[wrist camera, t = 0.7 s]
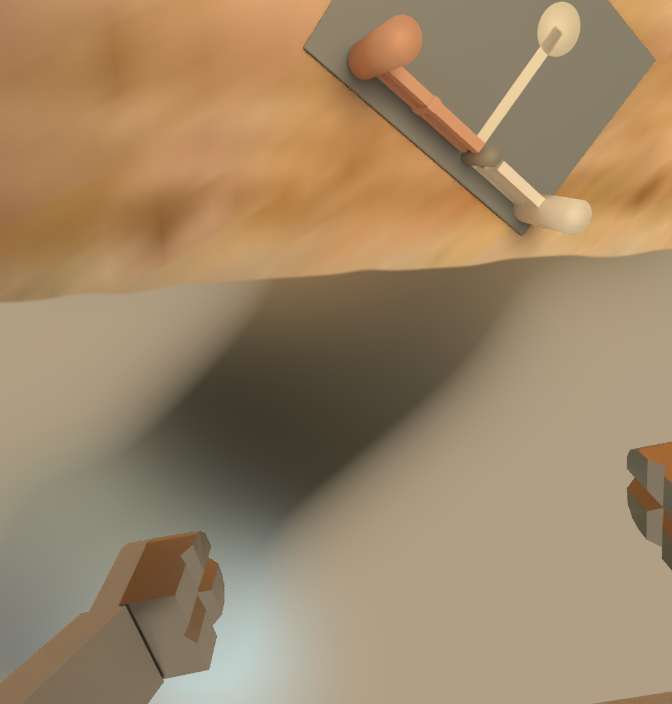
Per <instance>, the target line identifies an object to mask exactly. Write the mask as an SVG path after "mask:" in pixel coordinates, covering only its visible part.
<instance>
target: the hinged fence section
mask: <svg viewBox="0 0 672 704" xmlns="http://www.w3.org/2000/svg"><path fill="white" fill-rule="evenodd" d="M421 47H422V32H421V29H420V27H419V25H418V23H417V22H416V21H415V20H414V19H413V18H412V17H410V16H408V15H396V16H394V17H392V18H391V19H389V20H388V21H386V22H385V23H384V24H382V25H381V26H379V27H378V28H376V29H375V30H374V31H372V32H371V33H369V34H368V35H366V36H365V37H364V38H362V39H361V40H359V41H358V42H356V43H355V44H354V45H353V46H352V48H351V49H350V52H349V55H348V64H349V68H350V70H351V72H352V73H353V75H354V76H356V77H357V78H359V79H362V80H369V79H372V78H374V77H377V78H378V79H379V80H381V81H382V82H383V83H384V84H385V85H386V86H387V87H388V88H390V89H391V90H392V91H393V92H394V93H395V94H396V95H397V96H398V97H400V98H401V99H402V100H403V101H404V102H405V103H406V104H407V105H409V106H410V107H411V108H412V111H413V112H414V113H415V114H417V115H420V116H421V117H422V118H423V119H424V120H425V121H426V122H428V123H429V124H430V125H431V126H432V127H433V128H434V129H435V130H437V131H438V132H439V133H440V134H441V135H442V136H443V137H444V138H445V139H447V140H448V141H449V142H450V143H451V144H452V145H453V146H454V147H456V148H457V149H458V150H459V151H460V152H467V151H468V149H469V150H470V151H471V152H473V153H479V152H480V150H481V149H482V148H483V146H484V145H485V143H484V142H483V141H482V140H481V139H480V138H479V137H478V136H477V135H476V134H475V133H473V132H472V131H471V130H470V129H469V128H468V127H467V126H466V125H465V124H464V123H463V122H462V121H460V120H459V119H458V118H457V117H456V116H455V115H454V114H453V113H452V112H451V111H450V110H449V109H448V108H446V107H445V106H444V105H443V104H442V103H441V102H442V101H441V100H440V99H439V98H438V97H437V96H436V95H432V94H431V93H430V92H429V91H428V90H427V89H426V88H425V87H424V86H423V85H422V84H421V83H420V82H418V81H417V80H416V79H415V78H414V77H413V76H412V75H411V74H410V73H409V72H408V71H407V70H405V69H404V68H403V67H402V66H404V65H406V64H409V63H411V62H412V61H413V60H414V59H415V58H416V57H417V56H418V54H419V52H420V50H421Z"/></svg>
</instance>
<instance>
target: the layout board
mask: <svg viewBox="0 0 672 704" xmlns="http://www.w3.org/2000/svg"><path fill="white" fill-rule="evenodd" d="M396 15H408V16H410V17H412V18H413V19H414V20H415V21H416V22H417V23H418V25H419V27H420V29H421V32H422V47H421V50H420V52H419V54H418V56H417V57H416V58H415V59H414V60H413V61H412V62H411V63H409V64H406V65H404V66H402V67H403V68H404V69H405V70H407V71H408V72H409V73H410V74H411V75H412V76H413V77H414V78H415V79H416V80H417V81H418V82H420V83H421V84H422V85H423V86H424V87H425V88H426V89H427V90H428V91H429V92H430V93H431V94H432V95H436V96H437V97H438V98H439V99H440V100H441V101H442V102H441V103H442V104H443V105H444V106H445V107H446V108H448V109H449V110H450V111H451V112H452V113H453V114H454V115H455V116H456V117H457V118H458V119H459V120H460V121H462V122H463V123H464V124H465V125H466V126H467V127H468V128H469V129H470V130H471V131H472V132H473V133H475V134H476V135H477V136H478V137H479V138H480V139H481V140H482V141H483V142H484V143H485V145H484V146H485V147H497V148H498V149H499V150H500V151H501V160H500V161H505V162H506V163H507V164H508V165H509V166H510V167H511V168H512V169H513V170H514V171H515V172H517V173H518V174H519V175H520V176H521V177H522V178H523V179H524V180H525V181H526V182H527V183H528V184H530V185H531V186H532V187H533V188H534V189H535V190H536V191H537V192H538V193H541V194H547V195H554V194H555V192H556V191H557V190H558V188H559V187H560V186H561V184H562V183H563V182H564V180H565V179H566V178H567V176H568V175H569V174H570V173H571V171H572V170H573V169H574V167H575V166H576V165H577V163H578V162H579V161H580V159H581V158H582V157H583V155H584V154H585V153H586V151H587V150H588V149H589V148H590V146H591V145H592V144H593V142H594V141H595V140H596V138H597V137H598V136H599V134H600V133H601V132H602V130H603V129H604V128H605V126H606V125H607V124H608V122H609V121H610V120H611V119H612V117H613V116H614V115H615V113H616V112H617V111H618V109H619V108H620V107H621V105H622V104H623V103H624V101H625V100H626V99H627V97H628V96H629V95H630V94H631V92H632V91H633V90H634V88H635V87H636V86H637V84H638V83H639V82H640V80H641V79H642V78H643V76H644V75H645V74H646V72H647V71H648V70H649V69H650V67H651V66H652V65H653V63H654V62H655V61H656V60H655V59H654V57H653V56H652V55H651V54H650V52H649V51H648V50H647V49H646V47H645V46H644V45H643V44H642V42H641V41H640V40H639V39H638V37H637V36H636V35H635V34H634V32H633V31H632V30H631V29H630V27H629V26H628V25H627V24H626V22H625V21H624V20H623V18H622V17H621V16H620V15H619V13H618V12H617V11H616V10H615V8H614V7H613V6H612V5H611V3H610V2H609V1H608V0H332V2H331V4H330V5H329V7H328V9H327V10H326V12H325V13H324V15H323V17H322V18H321V20H320V22H319V23H318V25H317V27H316V28H315V30H314V31H313V33H312V35H311V36H310V38H309V40H308V41H307V43H306V45H305V46H304V49H305V50H306V51H307V52H308V53H309V54H311V55H312V56H313V57H314V58H315V59H316V60H318V61H319V62H320V63H321V64H322V65H323V66H324V67H326V68H327V69H328V70H329V71H330V72H331V73H333V74H334V75H335V76H336V77H337V78H338V79H340V80H341V81H342V82H343V83H344V84H345V85H347V86H348V87H349V88H350V89H351V90H352V91H354V92H355V93H356V94H357V95H358V96H359V97H361V98H362V99H363V100H364V101H365V102H366V103H368V104H369V105H370V106H371V107H372V108H373V109H375V110H376V111H377V112H378V113H379V114H380V115H382V116H383V117H384V118H385V119H386V120H387V121H388V122H390V123H391V124H392V125H393V126H394V127H395V128H397V129H398V130H399V131H400V132H401V133H402V134H404V135H405V136H406V137H407V138H408V139H409V140H411V141H412V142H413V143H414V144H415V145H416V146H418V147H419V148H420V149H421V150H422V151H423V152H425V153H426V154H427V155H428V156H429V157H430V158H432V159H433V160H434V161H435V162H436V163H437V164H439V165H440V166H441V167H442V168H443V169H444V170H445V171H447V172H448V173H449V174H450V175H451V176H452V177H454V178H455V179H456V180H457V181H458V182H459V183H461V184H462V185H463V186H464V187H465V188H466V189H468V190H469V191H470V192H471V193H472V194H473V195H475V196H476V197H477V198H478V199H479V200H480V201H482V202H483V203H484V204H485V205H486V206H487V207H489V208H490V209H491V210H492V211H493V212H494V213H496V214H497V215H498V216H499V217H500V218H501V219H503V220H504V221H505V222H506V223H507V224H508V225H509V226H511V227H512V228H513V229H514V230H515V231H516V232H518V233H519V234H520V235H522V236H523V234H524V233H525V232H526V230H527V229H528V228H529V226H530V225H531V224H528V223H524V222H521V221H518V220H517V219H516V218H515V216H514V213H513V206H514V203H515V200H514V199H513V198H512V197H510V196H509V195H508V194H507V193H506V192H505V191H504V190H503V189H501V188H500V187H499V186H498V185H497V184H496V183H495V182H494V181H492V180H491V179H490V178H489V177H488V176H487V175H486V174H485V173H484V172H482V171H481V170H480V169H479V167H480V166H472V165H466V164H464V163H463V162H462V159H461V154H462V152H460V151H459V150H458V149H457V148H456V147H454V146H453V145H452V144H451V143H450V142H449V141H448V140H447V139H445V138H444V137H443V136H442V135H441V134H440V133H439V132H438V131H437V130H435V129H434V128H433V127H432V126H431V125H430V124H429V123H428V122H426V121H425V120H424V119H423V118H422V117H421V116H420V115H417V114H415V113H414V112H413V111H412V108H411V107H410V106H409V105H407V104H406V103H405V102H404V101H403V100H402V99H401V98H400V97H398V96H397V95H396V94H395V93H394V92H393V91H392V90H391V89H390V88H388V87H387V86H386V85H385V84H384V83H383V82H382V81H381V80H379V79H378V78H377V77H374V78H372V79H369V80H362V79H359V78H357V77H356V76H354V75H353V73H352V72H351V70H350V68H349V64H348V55H349V52H350V49H351V48H352V46H353V45H354V44H355V43H356V42H358V41H359V40H361V39H362V38H364V37H365V36H366V35H368V34H369V33H371V32H372V31H374V30H375V29H376V28H378V27H379V26H381V25H382V24H384V23H385V22H386V21H388V20H389V19H391V18H392V17H394V16H396Z"/></svg>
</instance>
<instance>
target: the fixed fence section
mask: <svg viewBox="0 0 672 704" xmlns="http://www.w3.org/2000/svg"><path fill="white" fill-rule="evenodd" d="M461 159H462V162H463V163H464V164H466V165H472V166H480V167H479V169H480V170H481V171H482V172H484V173H485V174H486V175H487V176H488V177H489V178H490V179H491V180H492V181H494V182H495V183H496V184H497V185H498V186H499V187H500V188H501V189H503V190H504V191H505V192H506V193H507V194H508V195H509V196H510V197H512V198H513V199H514V200H515V203H514V206H513V213H514V216H515V218H516V219H517V220H518V221H521V222H524V223H528V224H532V225H536V226H540V227H544V228H548V229H552V230H555V231H559V232H563V233H567V234H571V235H575V234H578V233H580V232H582V231H583V230H584V229H585V228H586V227H587V226H588V224H589V223H590V220H591V216H592V211H591V207H590V205H589V204H588V203H587V202H586V201H584V200H579V199H573V198H567V197H560V196H554V195H547V194H541V193H538V192H537V191H536V190H535V189H534V188H533V187H532V186H531V185H530V184H528V183H527V182H526V181H525V180H524V179H523V178H522V177H521V176H520V175H519V174H518V173H517V172H515V171H514V170H513V169H512V168H511V167H510V166H509V165H508V164H507V163H506V162H505V161H500V160H501V151H500V150H499V149H498V148H497V147H485V146H483V148H482V149H481V150H480V152H479V153H473V152H471V151H470V150H469V149H468V151H467V152H462V154H461Z"/></svg>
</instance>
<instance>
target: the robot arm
mask: <svg viewBox="0 0 672 704" xmlns="http://www.w3.org/2000/svg"><path fill="white" fill-rule="evenodd" d="M627 469H628V470H629V471H630V473H631V474H632V475H633V476H634V477H635V478H634V480H633V481H632V482H631V483H630V485H629V486H628V488H627V499H628V506H629V509H630V512H631V515H632V518H633V520H634V522H635V524H636V525H637V527H638V529H639V530H640V532H641V533H642V534H643V536H644V537H645V538H646V539H647V540H649V541H651V542H653V543H655V544H657V545H659V546H662V559H663V560H664V562H665V563H666V564H667V565H668V566H669V568H670V569H671V570H672V442H667V443H662V444H657V445H652V446H647V447H642V448H636V449H632V450H630V451H629V453H628V456H627ZM210 549H211V545H210V543H209V540H208V538H207V536H206V534H205V533H204V532H202V531H196V532H190V533H184V534H178V535H172V536H166V537H159V538H154V539H152V540H144V541H138V542H132V543H128V544H127V545H125V546H124V547H123V548H122V549H121V551H120V553H119V555H118V557H117V559H116V560H115V562H114V565H113V566H112V568H111V570H110V572H109V574H108V576H107V578H106V580H105V582H104V584H103V586H102V588H101V590H100V592H99V593H98V595H97V597H96V599H95V601H94V603H93V605H92V607H91V609H90V611H89V612H87V613H81V614H80V615H79V616H78V617H76V618H75V619H74V620H73V621H72V622H71V623H70V624H68V625H67V626H66V627H65V628H64V629H63V630H61V631H60V632H59V633H58V634H57V635H56V636H55V637H54V638H52V639H51V640H50V641H49V642H47V643H46V644H45V645H44V646H43V647H42V648H41V649H39V650H38V651H37V652H36V653H35V654H34V655H32V656H31V657H30V658H29V659H28V660H27V661H25V662H24V663H23V664H22V665H21V666H20V667H18V668H17V669H16V670H15V671H14V672H13V673H12V674H10V675H9V676H8V677H7V678H6V679H5V680H3V681H2V682H1V683H0V704H148V703H149V701H150V700H151V699H152V697H153V696H154V695H155V693H156V692H157V690H158V689H159V688H160V686H161V685H162V684H163V682H164V681H163V679H166V678H170V677H176V676H181V675H186V674H190V673H195V672H200V671H205V670H209V668H210V664H211V659H212V655H213V651H214V646H215V642H216V638H217V635H216V633H215V630H214V628H213V626H212V625H213V624H214V623H215V622H216V621H217V620H218V618H219V617H220V616H221V615H222V610H223V605H224V582H223V577H222V573H221V570H220V567H219V565H218V563H216V562H215V561H213V560H212V559H210V558H209V557H208V556H209V552H210ZM595 704H672V692H665V693H659V694H652V695H646V696H640V697H634V698H627V699H621V700H615V701H608V702H602V703H595Z"/></svg>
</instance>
